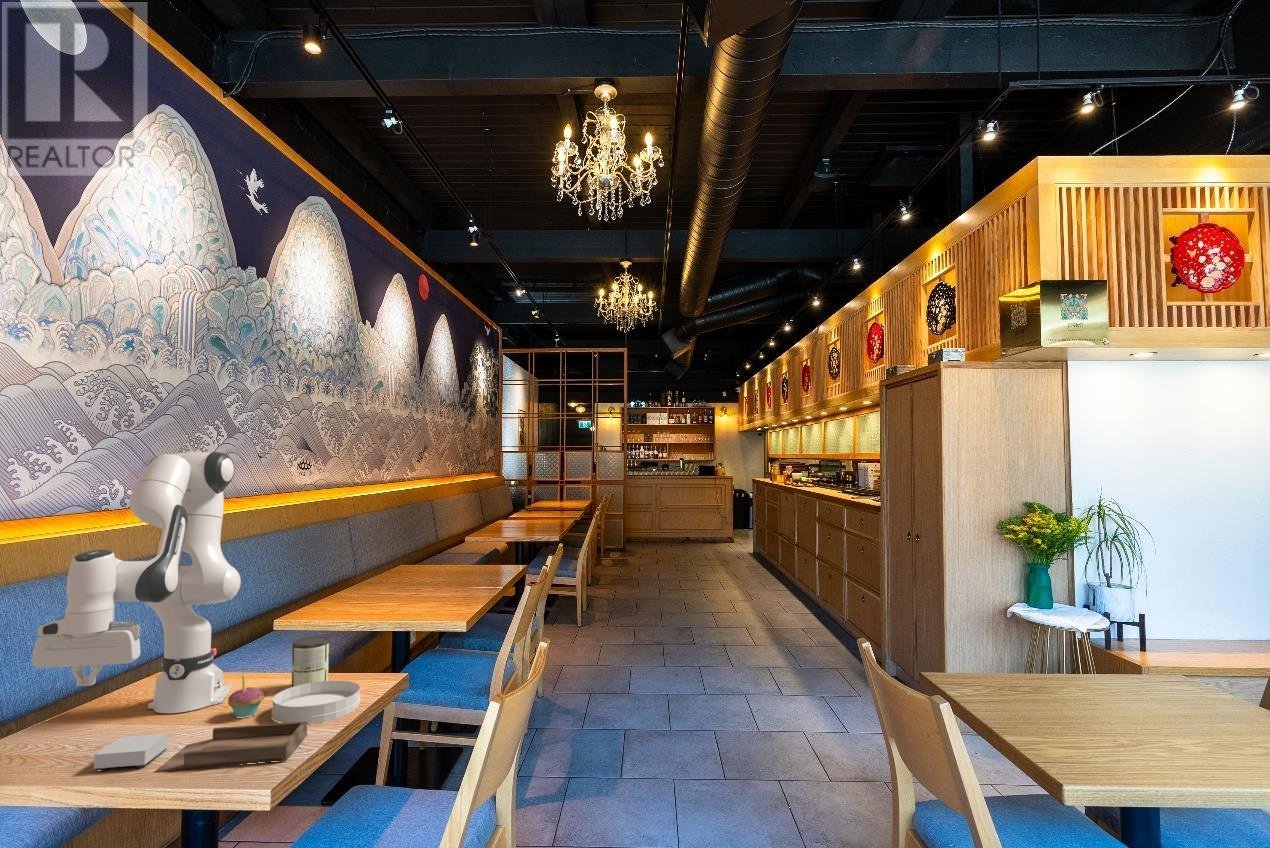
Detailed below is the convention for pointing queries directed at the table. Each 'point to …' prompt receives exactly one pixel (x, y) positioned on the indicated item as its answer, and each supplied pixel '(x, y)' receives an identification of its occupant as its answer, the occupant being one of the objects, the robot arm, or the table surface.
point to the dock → (240, 746)
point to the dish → (316, 702)
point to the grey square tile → (131, 751)
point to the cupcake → (245, 700)
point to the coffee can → (310, 660)
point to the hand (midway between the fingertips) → (86, 685)
